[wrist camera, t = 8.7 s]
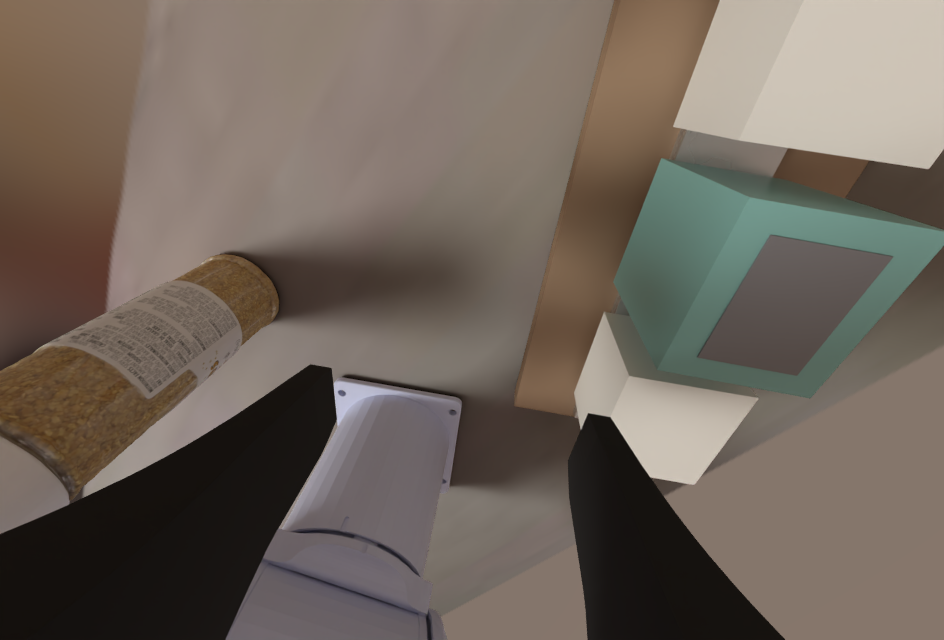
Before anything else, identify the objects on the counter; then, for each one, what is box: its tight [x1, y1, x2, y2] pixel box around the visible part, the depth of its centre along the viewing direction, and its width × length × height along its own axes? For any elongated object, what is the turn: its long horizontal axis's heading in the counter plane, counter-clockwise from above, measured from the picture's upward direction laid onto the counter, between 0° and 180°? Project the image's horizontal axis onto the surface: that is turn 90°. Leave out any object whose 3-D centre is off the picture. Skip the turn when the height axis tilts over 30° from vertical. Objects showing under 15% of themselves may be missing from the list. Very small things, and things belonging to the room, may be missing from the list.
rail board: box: [514, 0, 870, 416], centre depth 16 cm, size 22×10×1 cm, turn 173°
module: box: [613, 158, 944, 398], centre depth 12 cm, size 5×4×6 cm
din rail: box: [573, 129, 788, 418], centre depth 15 cm, size 21×4×1 cm, turn 173°
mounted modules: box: [574, 0, 944, 485], centre depth 13 cm, size 18×4×4 cm, turn 173°
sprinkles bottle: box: [0, 254, 279, 534], centre depth 15 cm, size 5×5×13 cm
